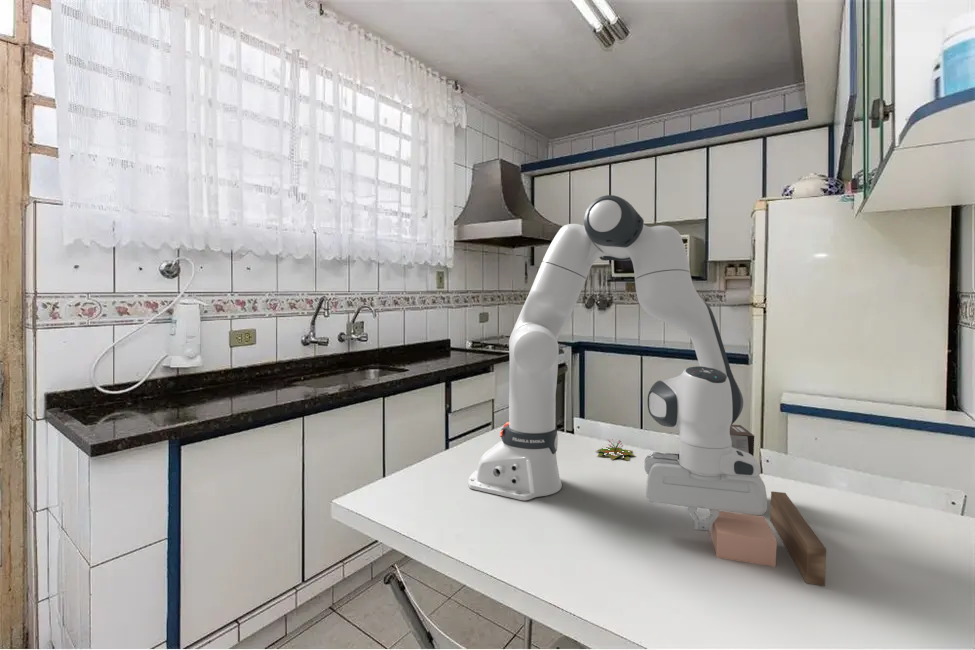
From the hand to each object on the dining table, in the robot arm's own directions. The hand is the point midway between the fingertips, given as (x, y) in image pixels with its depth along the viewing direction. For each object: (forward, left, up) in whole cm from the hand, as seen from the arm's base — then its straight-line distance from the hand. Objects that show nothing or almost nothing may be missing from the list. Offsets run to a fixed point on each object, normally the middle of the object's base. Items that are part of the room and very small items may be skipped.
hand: (702, 529), depth 88 cm
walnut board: (+15, +2, -2) cm, 16 cm away
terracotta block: (+6, -1, -3) cm, 7 cm away
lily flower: (-18, +45, -3) cm, 48 cm away
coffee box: (+8, +21, -3) cm, 23 cm away
